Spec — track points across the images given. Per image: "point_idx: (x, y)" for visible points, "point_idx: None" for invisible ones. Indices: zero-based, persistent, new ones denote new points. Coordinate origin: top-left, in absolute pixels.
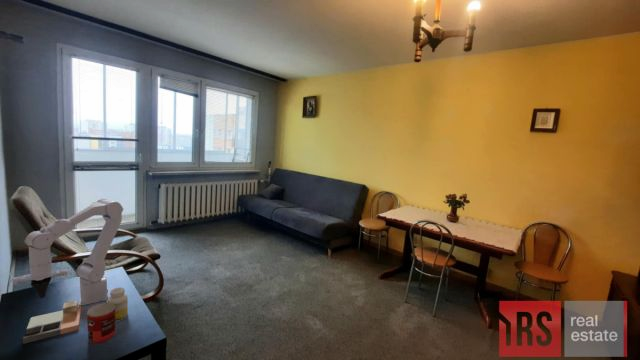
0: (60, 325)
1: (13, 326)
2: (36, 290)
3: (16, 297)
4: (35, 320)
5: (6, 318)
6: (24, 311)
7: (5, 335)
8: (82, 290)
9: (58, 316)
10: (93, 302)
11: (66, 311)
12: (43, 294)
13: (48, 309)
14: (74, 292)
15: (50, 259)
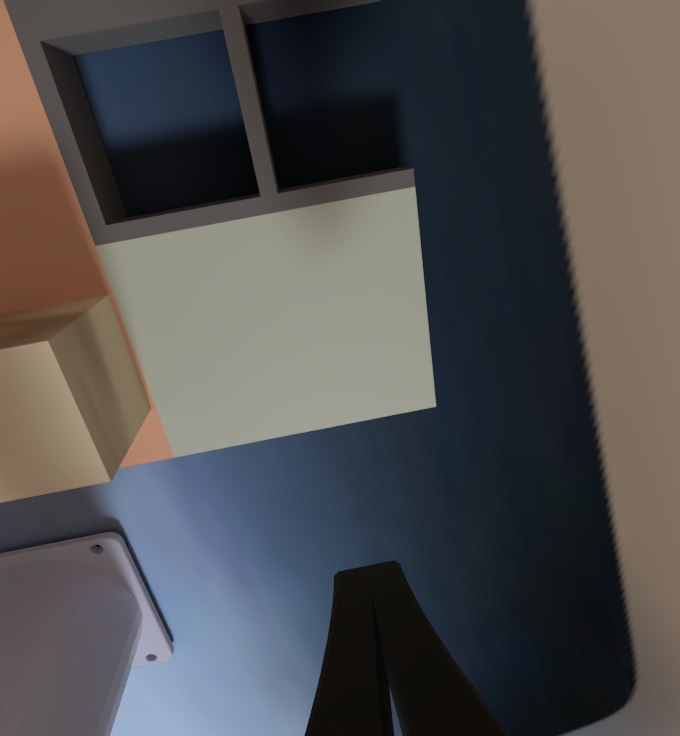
0: (52, 110)
1: (537, 359)
2: (496, 726)
3: (590, 707)
4: (380, 333)
5: (602, 488)
6: (510, 549)
7: (566, 226)
8: (40, 702)
9: (178, 344)
10: (4, 555)
11: (40, 327)
12: (351, 620)
13: (354, 537)
14: (253, 711)
15: None
